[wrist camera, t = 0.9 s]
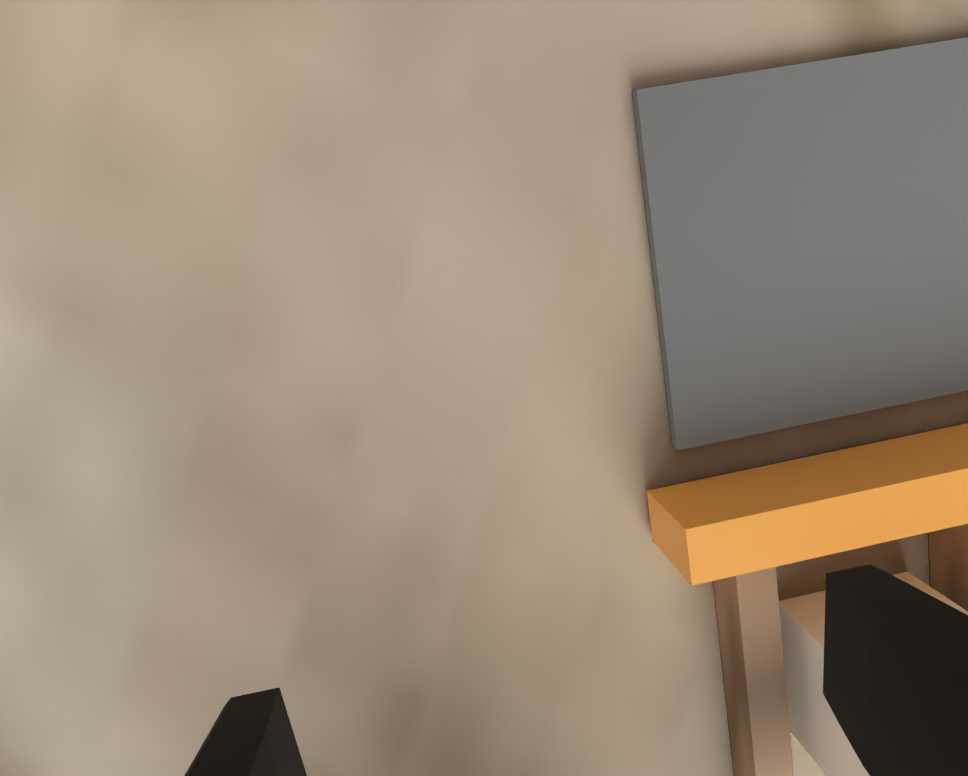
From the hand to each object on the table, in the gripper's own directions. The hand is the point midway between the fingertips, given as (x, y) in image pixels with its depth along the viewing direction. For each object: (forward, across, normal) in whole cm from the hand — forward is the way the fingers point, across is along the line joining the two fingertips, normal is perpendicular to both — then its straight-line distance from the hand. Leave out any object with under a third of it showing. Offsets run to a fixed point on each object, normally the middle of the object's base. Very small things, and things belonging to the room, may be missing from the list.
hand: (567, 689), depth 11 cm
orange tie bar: (+12, -11, +6) cm, 17 cm away
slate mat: (+14, -11, -1) cm, 17 cm away
